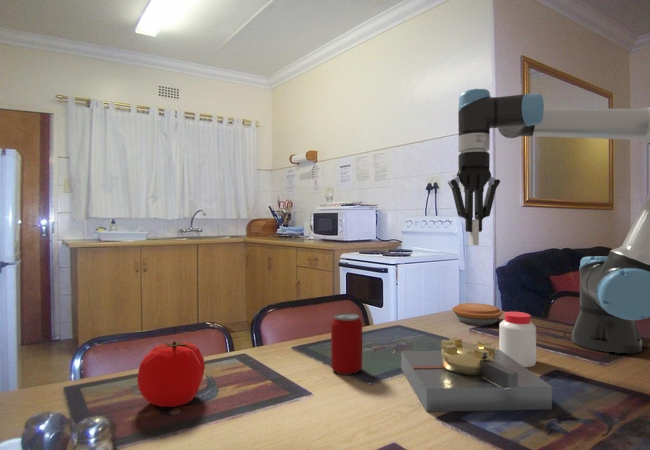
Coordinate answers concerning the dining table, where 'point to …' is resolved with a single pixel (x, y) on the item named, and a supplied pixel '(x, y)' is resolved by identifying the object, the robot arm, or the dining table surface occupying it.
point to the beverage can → (346, 343)
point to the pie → (477, 313)
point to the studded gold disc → (476, 361)
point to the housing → (472, 386)
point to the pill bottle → (518, 338)
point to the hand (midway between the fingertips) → (473, 244)
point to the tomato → (171, 374)
